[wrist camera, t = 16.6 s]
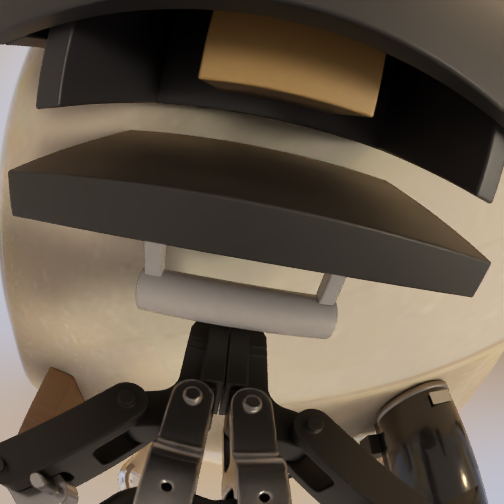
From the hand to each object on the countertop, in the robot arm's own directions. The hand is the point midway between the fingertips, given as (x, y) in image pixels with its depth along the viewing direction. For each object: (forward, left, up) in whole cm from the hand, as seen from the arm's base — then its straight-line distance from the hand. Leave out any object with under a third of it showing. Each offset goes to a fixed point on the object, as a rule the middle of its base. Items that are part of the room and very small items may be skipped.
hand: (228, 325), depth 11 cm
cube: (+11, 0, -3) cm, 12 cm away
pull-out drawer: (+11, 0, -4) cm, 11 cm away
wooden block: (-21, +17, -5) cm, 28 cm away
